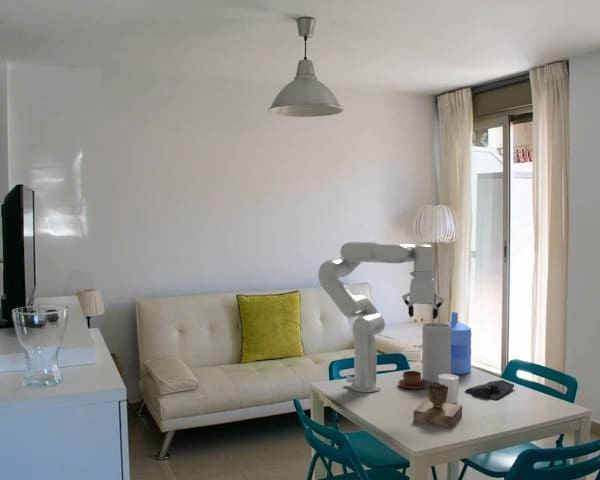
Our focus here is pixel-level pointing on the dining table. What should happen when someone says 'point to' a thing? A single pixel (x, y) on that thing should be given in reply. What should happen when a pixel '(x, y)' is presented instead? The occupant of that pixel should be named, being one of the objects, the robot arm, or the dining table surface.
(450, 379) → the white cup
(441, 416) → the walnut plinth
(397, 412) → the dining table surface
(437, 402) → the cup
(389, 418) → the dining table surface
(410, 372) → the cup and saucer
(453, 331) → the water jug
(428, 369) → the cylinder vase
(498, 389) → the black crumpled fabric piece
